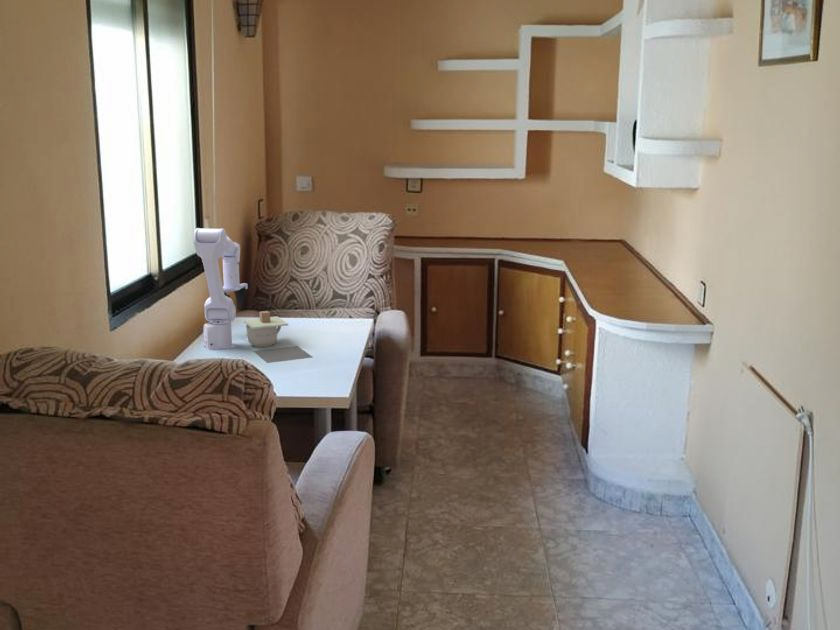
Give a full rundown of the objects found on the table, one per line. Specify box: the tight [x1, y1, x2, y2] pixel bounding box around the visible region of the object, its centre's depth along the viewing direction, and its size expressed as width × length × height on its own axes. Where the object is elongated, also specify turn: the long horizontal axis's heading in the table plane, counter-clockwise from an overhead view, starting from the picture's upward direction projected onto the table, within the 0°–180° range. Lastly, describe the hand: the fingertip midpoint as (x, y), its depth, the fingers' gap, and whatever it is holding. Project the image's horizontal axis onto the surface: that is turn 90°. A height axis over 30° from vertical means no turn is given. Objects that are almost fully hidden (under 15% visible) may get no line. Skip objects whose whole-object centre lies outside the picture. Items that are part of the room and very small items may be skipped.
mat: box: [253, 345, 313, 364], centre depth 289 cm, size 16×16×1 cm
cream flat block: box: [241, 310, 289, 329], centre depth 300 cm, size 13×13×4 cm
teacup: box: [245, 324, 282, 348], centre depth 301 cm, size 14×11×8 cm
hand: (232, 310), depth 313 cm, fingers open, 7 cm apart
